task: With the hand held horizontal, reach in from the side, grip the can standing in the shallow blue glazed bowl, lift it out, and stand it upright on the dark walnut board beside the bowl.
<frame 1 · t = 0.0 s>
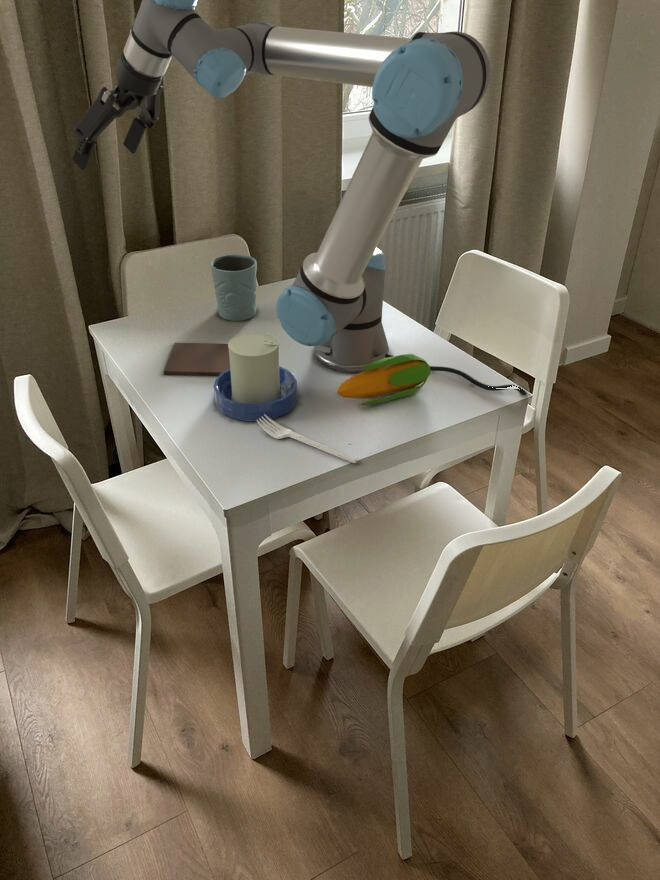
hand: (104, 156, 143), 36 cm above the table, tool tilted 35°, fingers open, 13 cm apart
corn: (383, 397, 141), on the table
can: (256, 399, 140), resting on bowl
blue cup: (236, 313, 170), on the table
board: (214, 360, 152), on the table
fork: (306, 445, 128), on the table
bowl: (256, 399, 140), on the table
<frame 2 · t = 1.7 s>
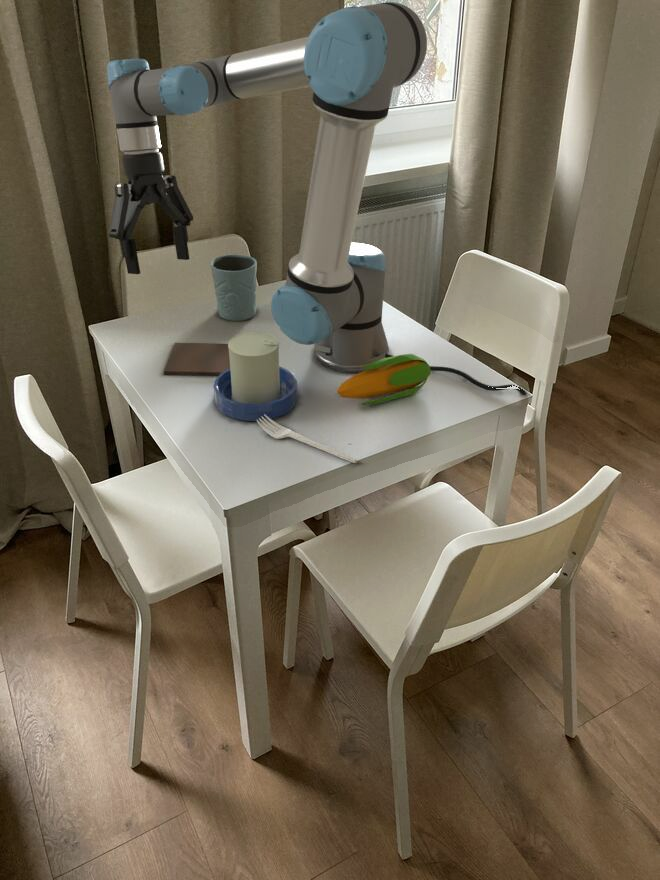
hand: (159, 266, 148), 17 cm above the table, tool pointing down, fingers open, 13 cm apart
nothing on the table moved.
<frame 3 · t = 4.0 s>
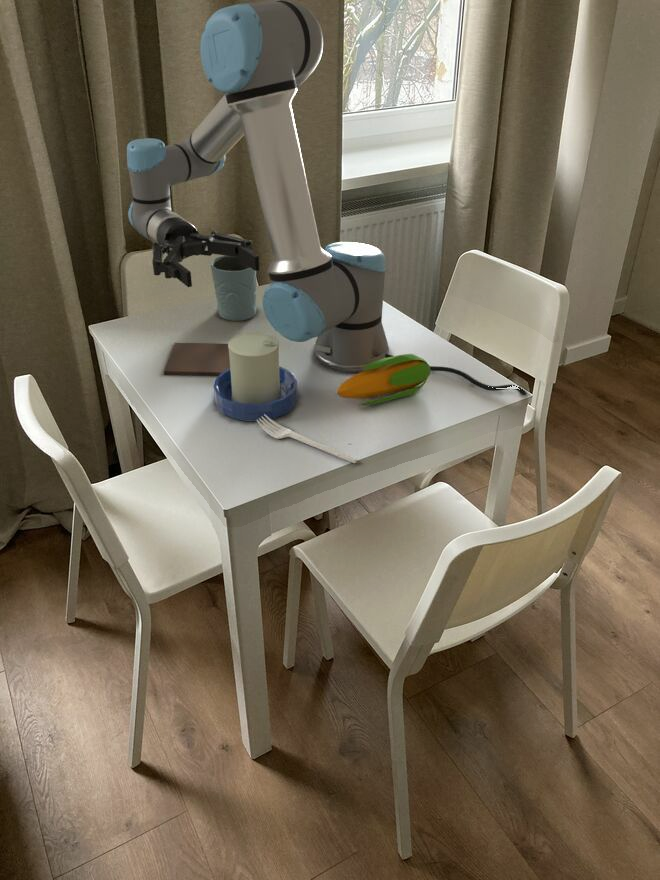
hand: (224, 271, 133), 22 cm above the table, tool horizontal, fingers open, 13 cm apart
nothing on the table moved.
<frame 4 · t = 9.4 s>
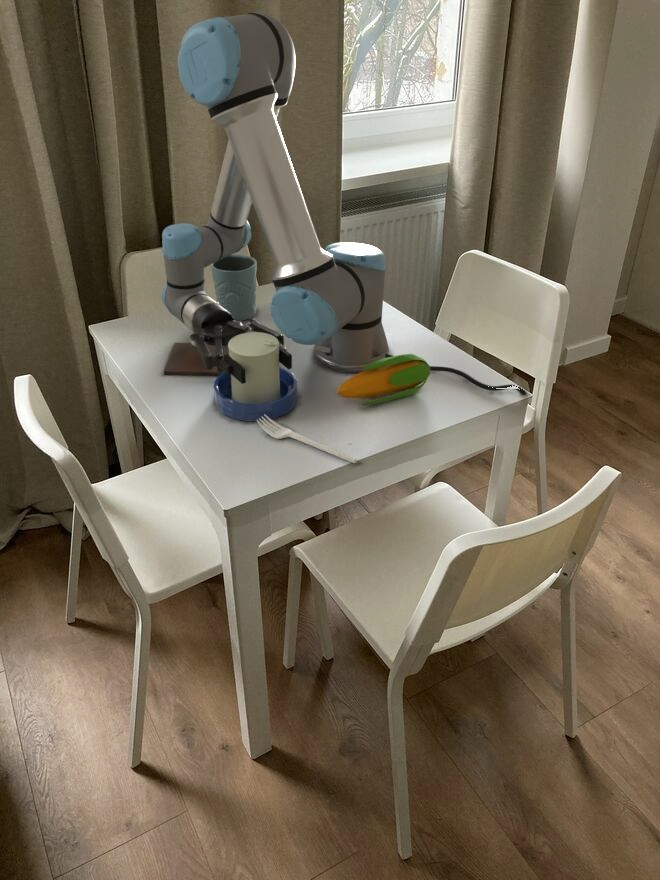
hand: (267, 369, 132), 9 cm above the table, tool horizontal, fingers closed on can, 9 cm apart
can: (256, 399, 140), resting on bowl, touching gripper
everything else where it was.
when the fingers open (9 cm above the table, at t = 17.1 s): can stays where it is, resting on board.
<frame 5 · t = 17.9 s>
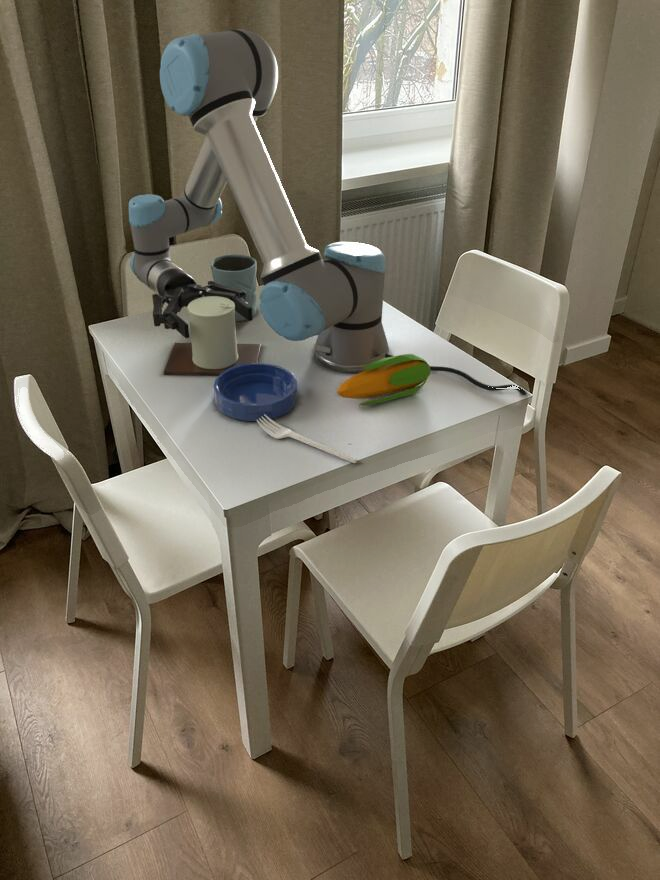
hand: (219, 322, 143), 10 cm above the table, tool horizontal, fingers open, 13 cm apart
can: (215, 359, 151), point 1 cm above the table, touching board
everything else where it was.
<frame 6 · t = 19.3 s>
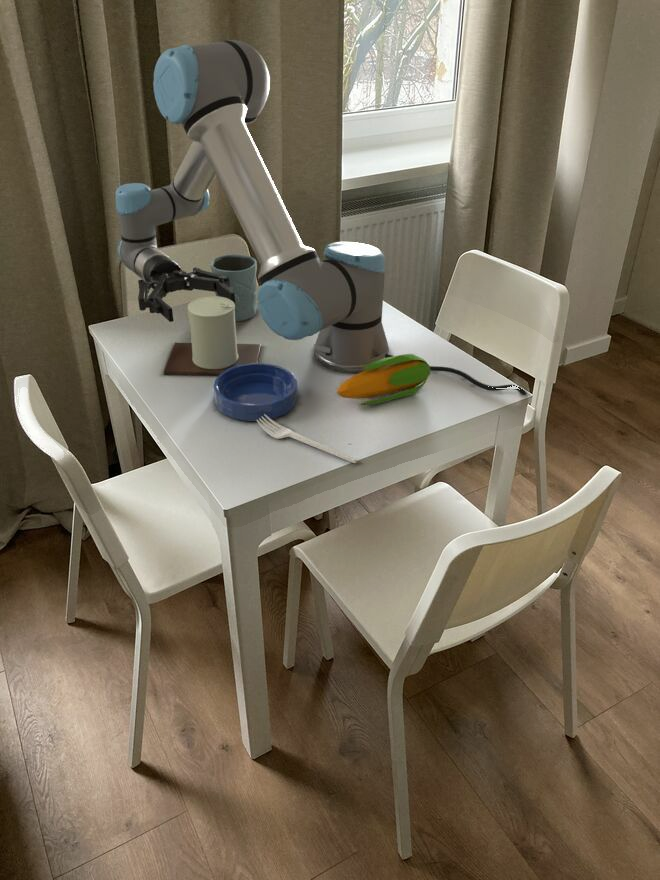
hand: (202, 307, 148), 11 cm above the table, tool horizontal, fingers open, 13 cm apart
nothing on the table moved.
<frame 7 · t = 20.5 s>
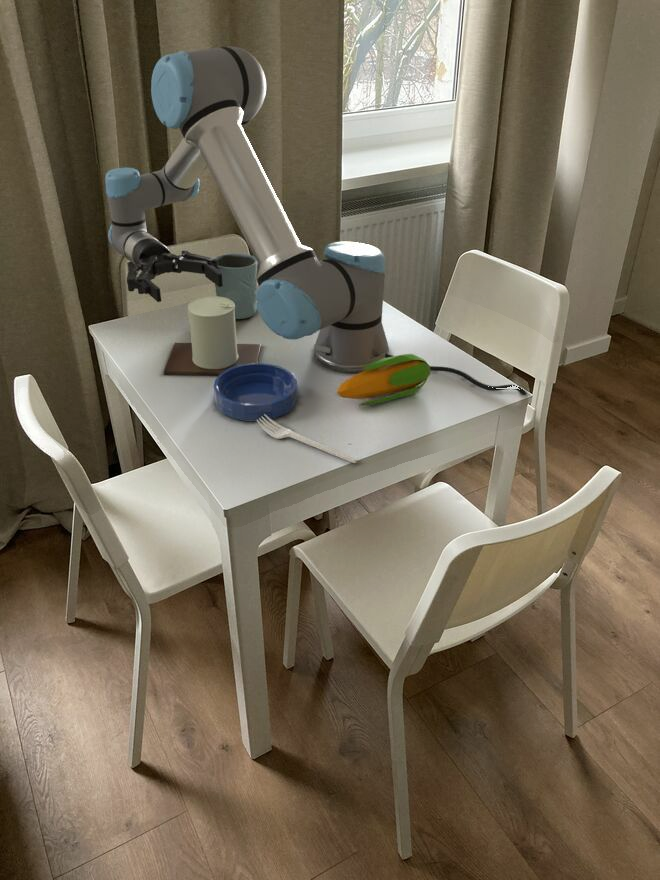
hand: (190, 287, 150), 13 cm above the table, tool horizontal, fingers open, 13 cm apart
nothing on the table moved.
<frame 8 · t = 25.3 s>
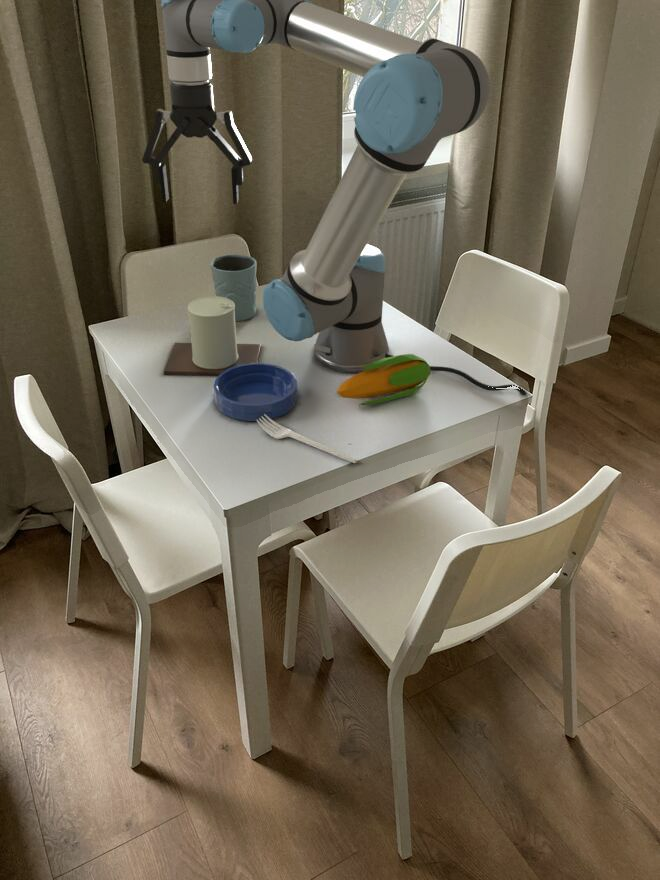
hand: (201, 201, 144), 29 cm above the table, tool pointing down, fingers open, 13 cm apart
nothing on the table moved.
at the end: can inside the target area on the board (0.4 cm from its centre), point 0.6 cm above the board's base; can tilted 0°; the gripper is holding nothing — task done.
